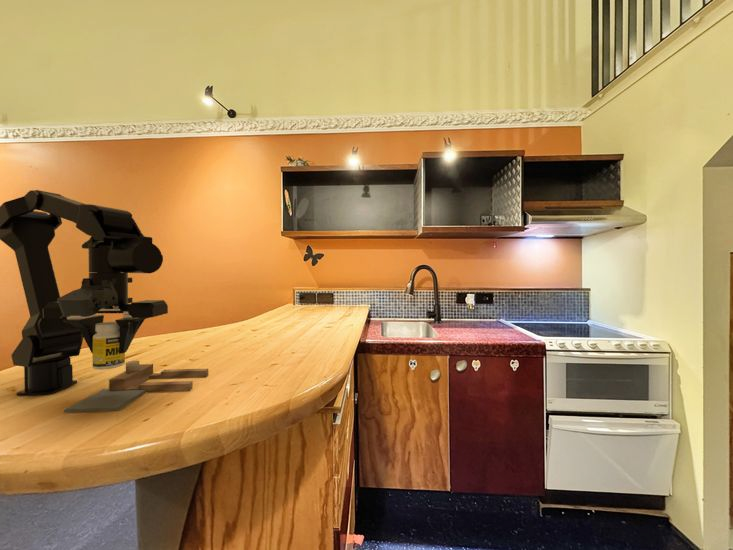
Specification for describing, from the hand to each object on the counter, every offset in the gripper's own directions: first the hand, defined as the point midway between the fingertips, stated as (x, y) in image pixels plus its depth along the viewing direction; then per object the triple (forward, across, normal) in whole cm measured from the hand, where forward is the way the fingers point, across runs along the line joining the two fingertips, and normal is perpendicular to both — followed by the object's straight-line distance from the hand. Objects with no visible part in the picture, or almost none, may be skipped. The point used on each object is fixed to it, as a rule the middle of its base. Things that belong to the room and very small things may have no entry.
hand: (109, 353), depth 58 cm
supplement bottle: (+3, 0, 0) cm, 3 cm away
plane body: (+9, +5, +8) cm, 13 cm away
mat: (+9, 0, 0) cm, 9 cm away
